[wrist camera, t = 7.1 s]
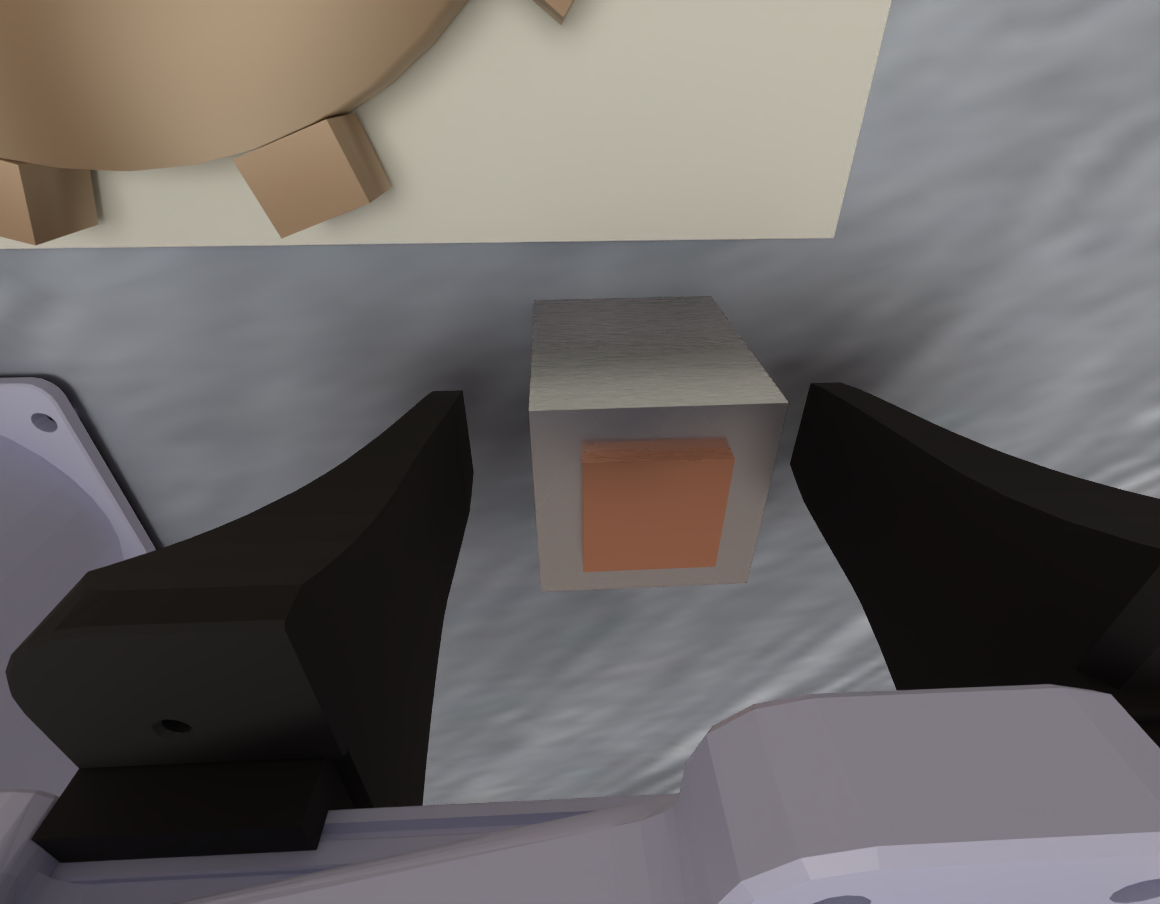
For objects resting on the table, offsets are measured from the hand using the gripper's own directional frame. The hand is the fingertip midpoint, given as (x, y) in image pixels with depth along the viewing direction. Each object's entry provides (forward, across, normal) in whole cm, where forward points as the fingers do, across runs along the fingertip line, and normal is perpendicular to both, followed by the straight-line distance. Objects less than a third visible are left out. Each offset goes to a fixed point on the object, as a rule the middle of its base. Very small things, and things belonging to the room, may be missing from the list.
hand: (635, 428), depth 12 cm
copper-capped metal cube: (+2, 0, 0) cm, 3 cm away
